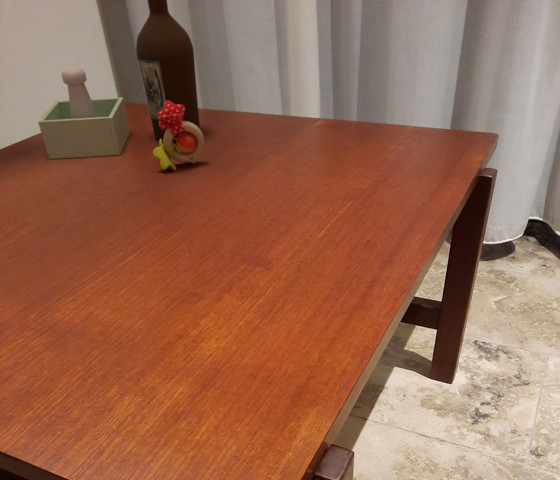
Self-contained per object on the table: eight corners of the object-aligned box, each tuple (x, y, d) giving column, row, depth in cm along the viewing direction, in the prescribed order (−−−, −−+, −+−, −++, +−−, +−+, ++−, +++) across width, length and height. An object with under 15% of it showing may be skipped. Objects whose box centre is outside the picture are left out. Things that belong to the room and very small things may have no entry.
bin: (49, 159, 106) (37, 121, 101) (65, 135, 116) (55, 101, 112) (120, 155, 106) (112, 117, 102) (130, 132, 117) (123, 97, 112)
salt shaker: (110, 136, 112) (94, 65, 104) (96, 146, 108) (77, 72, 99) (85, 135, 113) (66, 64, 105) (69, 145, 109) (49, 71, 101)
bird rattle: (191, 168, 105) (144, 155, 101) (208, 108, 99) (159, 92, 95) (197, 180, 101) (148, 167, 97) (215, 118, 95) (163, 102, 91)
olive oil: (183, 123, 120) (163, -18, 103) (213, 134, 114) (197, -14, 97) (141, 135, 114) (113, -10, 98) (171, 147, 108) (146, -6, 92)
